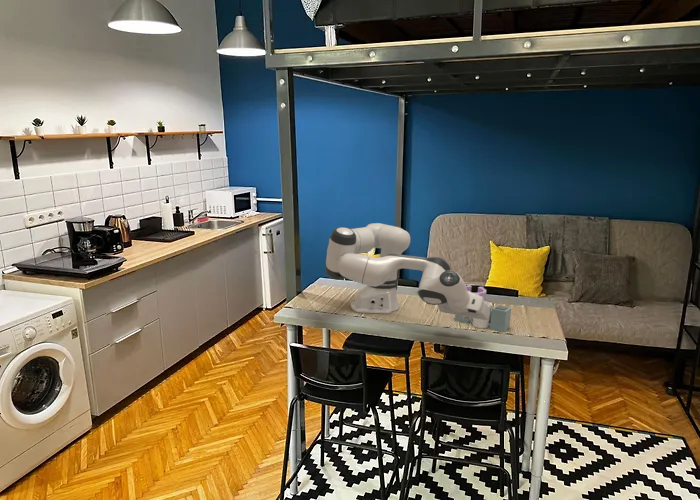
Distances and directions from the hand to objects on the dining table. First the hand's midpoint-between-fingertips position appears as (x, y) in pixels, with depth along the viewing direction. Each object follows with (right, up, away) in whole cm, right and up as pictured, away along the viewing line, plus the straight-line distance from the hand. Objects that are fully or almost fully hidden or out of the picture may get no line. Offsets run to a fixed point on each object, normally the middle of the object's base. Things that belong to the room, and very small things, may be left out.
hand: (467, 318), depth 202 cm
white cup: (+8, -5, +12) cm, 16 cm away
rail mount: (+10, -4, +15) cm, 18 cm away
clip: (+11, +1, +40) cm, 42 cm away
